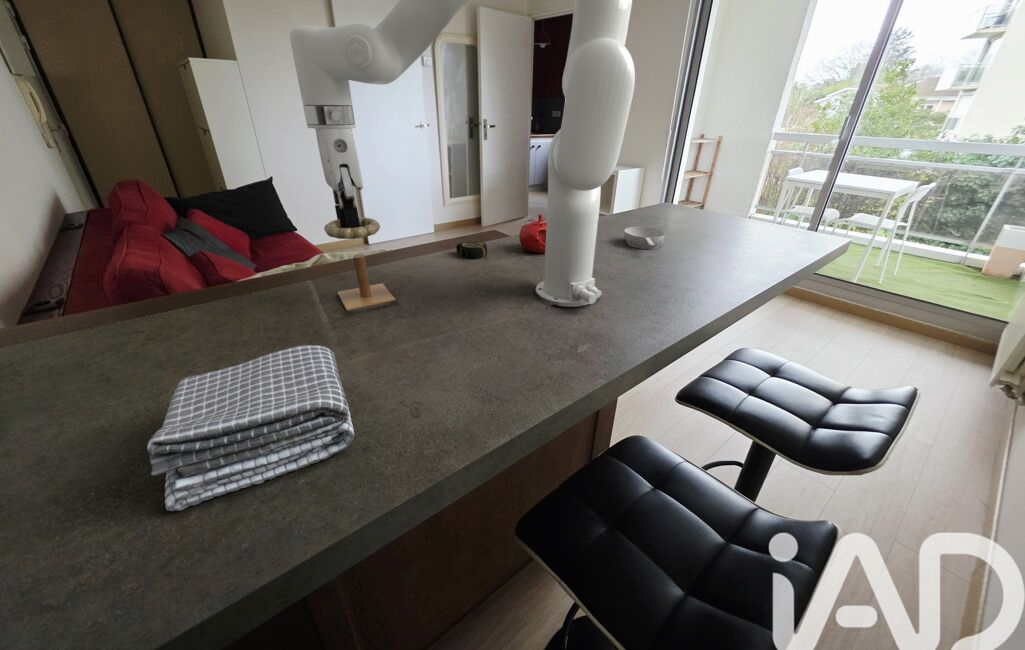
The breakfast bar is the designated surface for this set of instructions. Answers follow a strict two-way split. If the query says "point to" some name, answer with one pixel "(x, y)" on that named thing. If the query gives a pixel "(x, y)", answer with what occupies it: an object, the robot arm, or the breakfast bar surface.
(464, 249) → the tape measure
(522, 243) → the pomegranate
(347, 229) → the beige beaded ring
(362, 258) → the ring toss peg
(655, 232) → the small pan
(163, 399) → the breakfast bar surface
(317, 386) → the towel
